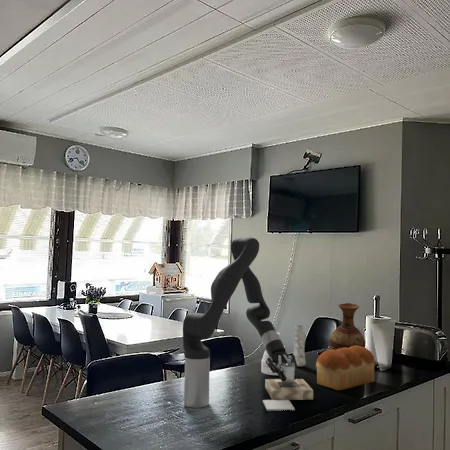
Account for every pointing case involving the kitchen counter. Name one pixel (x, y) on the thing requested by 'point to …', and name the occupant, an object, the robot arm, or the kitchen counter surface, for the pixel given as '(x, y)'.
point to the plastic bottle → (299, 345)
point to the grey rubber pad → (278, 405)
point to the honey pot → (264, 366)
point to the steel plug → (288, 374)
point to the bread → (345, 367)
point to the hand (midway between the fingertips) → (290, 379)
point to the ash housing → (288, 390)
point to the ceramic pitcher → (346, 330)
